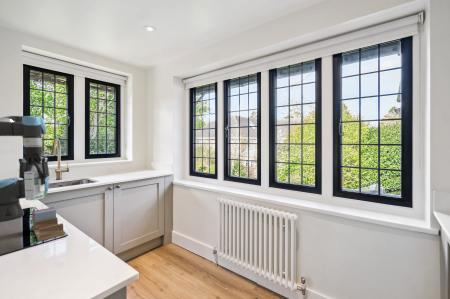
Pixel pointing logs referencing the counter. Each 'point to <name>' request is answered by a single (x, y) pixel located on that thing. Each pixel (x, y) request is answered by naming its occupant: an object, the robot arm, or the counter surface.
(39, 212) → the book rack
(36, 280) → the counter surface
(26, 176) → the syrup box
